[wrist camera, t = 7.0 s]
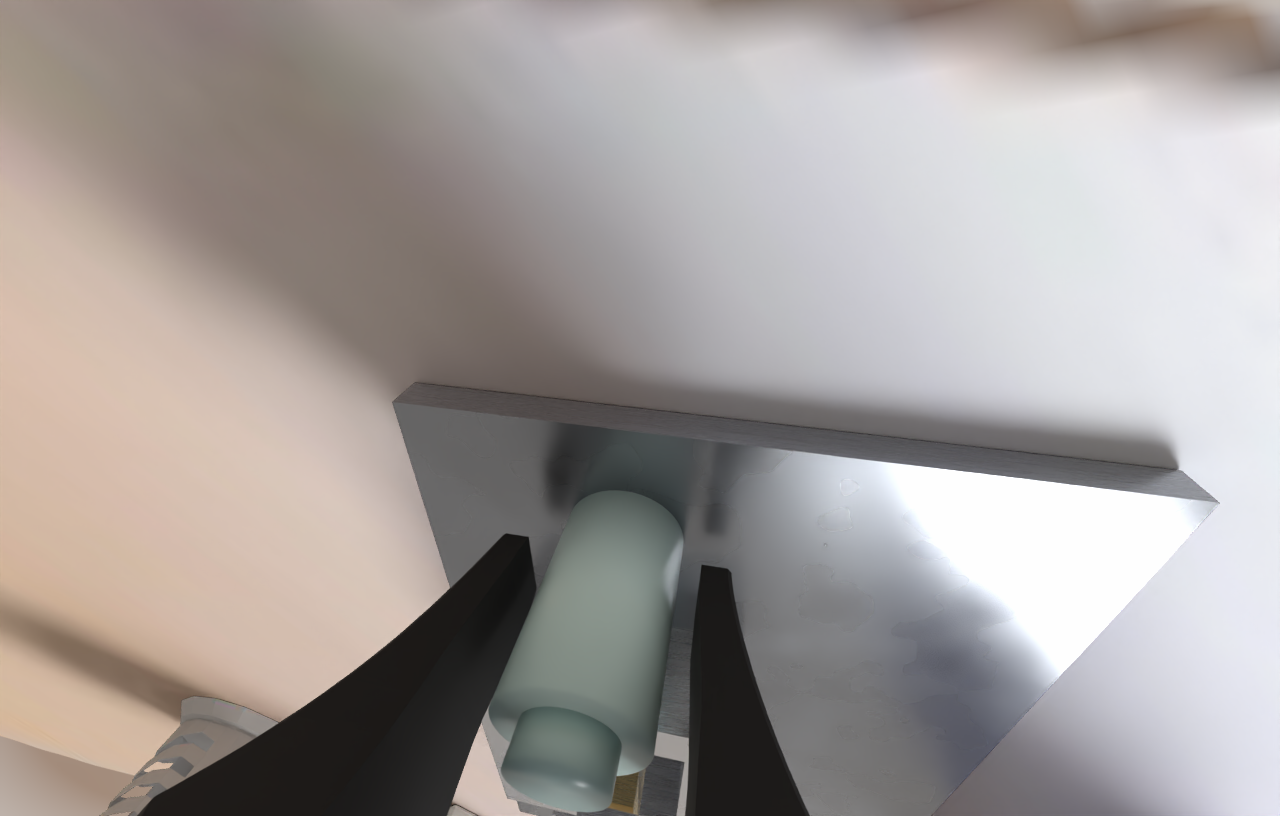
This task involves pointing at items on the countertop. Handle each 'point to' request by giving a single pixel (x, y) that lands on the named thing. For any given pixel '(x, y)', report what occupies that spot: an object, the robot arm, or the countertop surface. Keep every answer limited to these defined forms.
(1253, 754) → the countertop surface
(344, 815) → the robot arm
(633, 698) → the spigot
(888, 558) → the dock
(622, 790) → the pin
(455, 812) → the skincare box
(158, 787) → the french press
